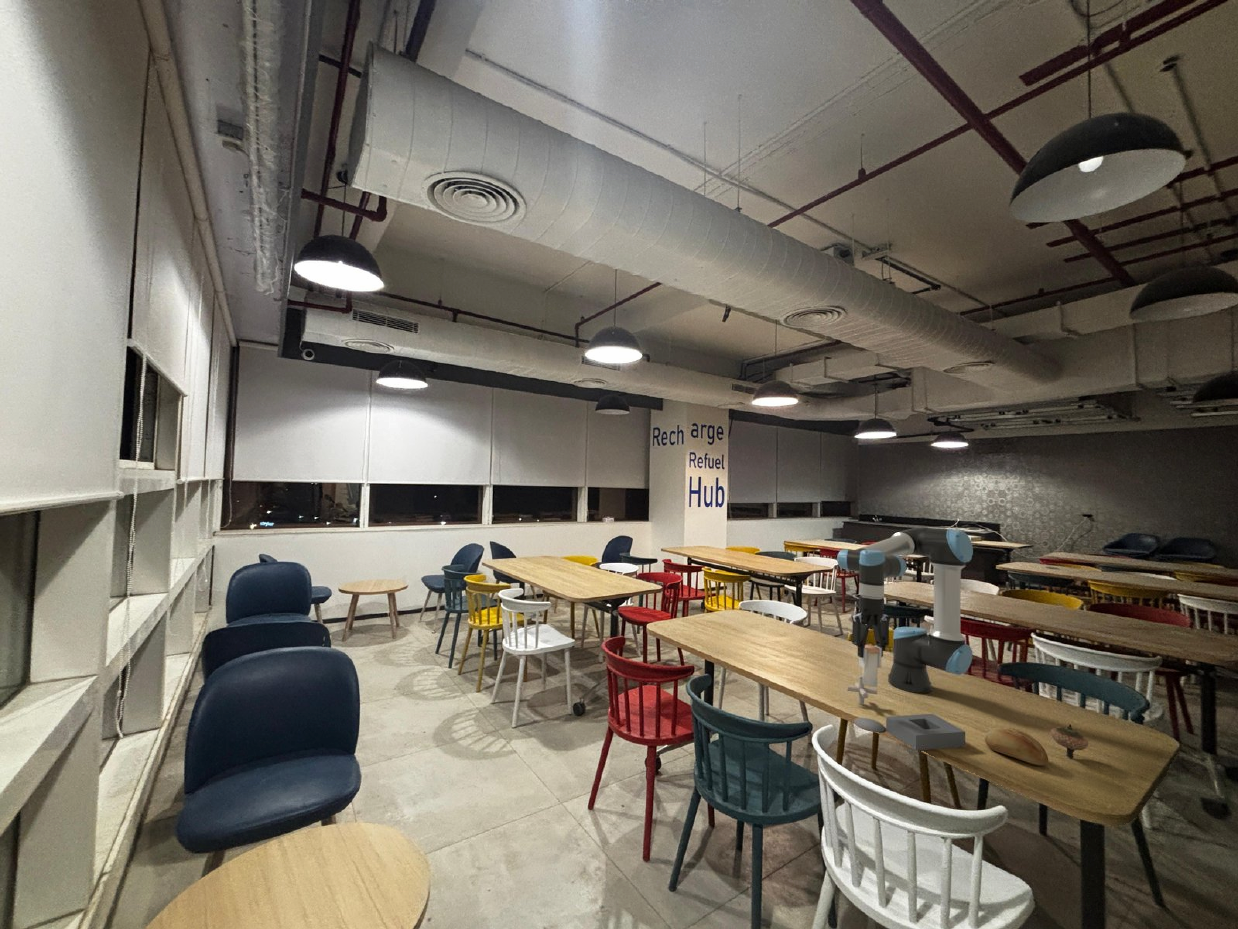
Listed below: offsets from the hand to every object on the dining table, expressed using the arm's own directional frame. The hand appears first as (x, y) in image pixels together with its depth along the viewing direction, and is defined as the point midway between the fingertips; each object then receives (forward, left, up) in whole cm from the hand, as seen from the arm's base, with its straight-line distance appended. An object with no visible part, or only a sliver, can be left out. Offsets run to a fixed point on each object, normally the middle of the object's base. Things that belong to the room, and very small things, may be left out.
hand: (870, 666), depth 162 cm
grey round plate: (0, 0, -19) cm, 19 cm away
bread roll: (-31, +23, -20) cm, 44 cm away
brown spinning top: (-48, +26, -19) cm, 58 cm away
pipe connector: (-9, -15, -19) cm, 26 cm away
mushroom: (0, 0, -6) cm, 6 cm away
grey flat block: (-12, +10, -19) cm, 25 cm away
